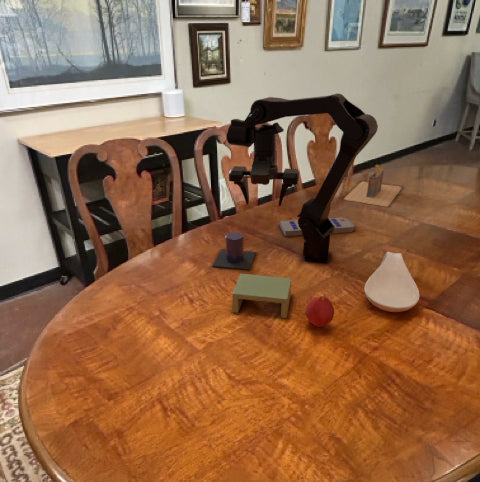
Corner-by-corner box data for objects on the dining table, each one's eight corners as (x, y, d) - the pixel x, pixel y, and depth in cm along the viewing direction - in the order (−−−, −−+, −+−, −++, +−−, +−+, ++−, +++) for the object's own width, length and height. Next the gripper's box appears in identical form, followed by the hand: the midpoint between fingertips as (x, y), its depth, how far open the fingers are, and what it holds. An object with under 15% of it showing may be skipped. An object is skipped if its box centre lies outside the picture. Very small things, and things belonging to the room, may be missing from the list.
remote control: (280, 226, 135) (280, 220, 134) (347, 222, 137) (348, 216, 136) (285, 236, 129) (285, 230, 127) (356, 232, 131) (356, 225, 129)
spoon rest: (417, 323, 89) (424, 295, 85) (360, 315, 92) (365, 287, 89) (412, 271, 109) (418, 246, 105) (365, 265, 112) (369, 241, 108)
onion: (302, 318, 91) (304, 287, 87) (328, 317, 92) (331, 286, 88) (308, 335, 86) (310, 303, 82) (335, 333, 87) (339, 301, 83)
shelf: (290, 296, 99) (291, 278, 97) (286, 318, 91) (287, 299, 89) (241, 291, 101) (240, 273, 99) (232, 312, 94) (232, 293, 91)
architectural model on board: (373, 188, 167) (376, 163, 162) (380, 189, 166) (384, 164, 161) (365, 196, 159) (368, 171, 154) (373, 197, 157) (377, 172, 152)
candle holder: (245, 255, 117) (245, 232, 113) (241, 263, 113) (241, 240, 109) (228, 254, 118) (227, 231, 114) (224, 262, 114) (223, 238, 110)
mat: (255, 253, 119) (255, 252, 119) (249, 270, 110) (249, 269, 110) (221, 250, 121) (221, 249, 120) (212, 267, 112) (212, 265, 112)
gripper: (223, 155, 106) (224, 213, 113) (297, 158, 102) (293, 217, 110) (232, 145, 115) (233, 199, 123) (300, 147, 112) (297, 203, 119)
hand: (263, 204), depth 119 cm, fingers open, 9 cm apart
